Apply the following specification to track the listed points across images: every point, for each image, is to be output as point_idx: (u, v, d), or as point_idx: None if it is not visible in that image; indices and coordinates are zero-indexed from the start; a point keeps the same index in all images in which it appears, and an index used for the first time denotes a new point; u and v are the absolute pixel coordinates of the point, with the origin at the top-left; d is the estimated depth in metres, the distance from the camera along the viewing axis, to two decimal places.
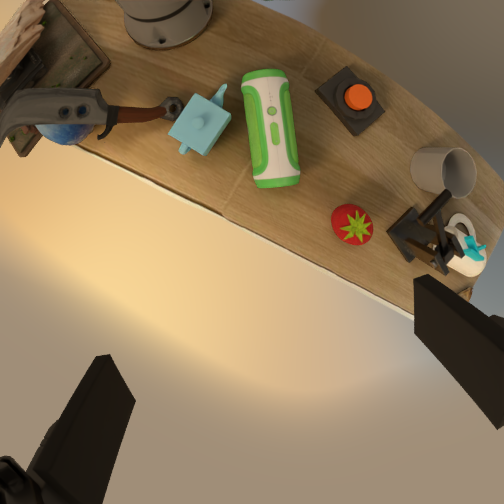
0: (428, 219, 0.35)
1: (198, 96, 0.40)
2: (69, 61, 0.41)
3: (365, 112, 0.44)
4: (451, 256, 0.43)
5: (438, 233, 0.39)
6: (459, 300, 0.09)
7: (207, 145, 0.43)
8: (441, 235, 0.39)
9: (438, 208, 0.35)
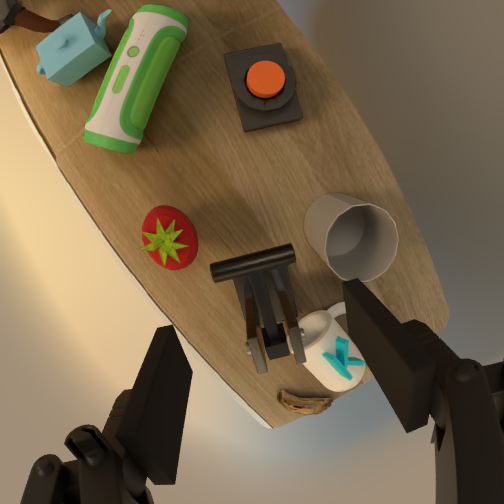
0: (226, 275, 0.22)
1: (80, 16, 0.25)
2: None
3: (266, 103, 0.32)
4: (283, 353, 0.31)
5: (259, 309, 0.27)
6: (377, 304, 0.11)
7: (56, 70, 0.27)
8: (264, 315, 0.27)
9: (254, 267, 0.22)
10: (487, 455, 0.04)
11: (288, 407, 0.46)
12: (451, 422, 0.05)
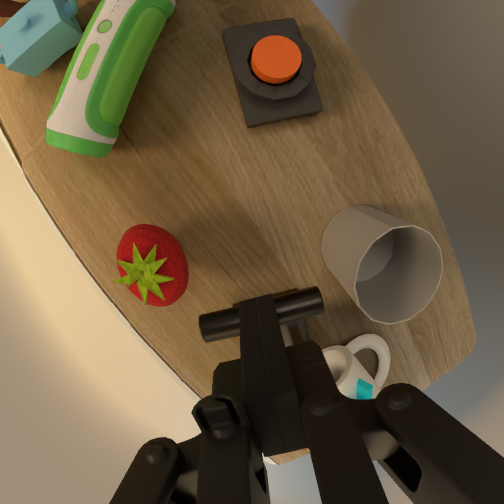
0: (222, 334, 0.15)
1: None
2: None
3: (277, 90, 0.24)
4: None
5: None
6: (274, 322, 0.12)
7: (16, 57, 0.19)
8: None
9: None
10: (357, 490, 0.04)
11: None
12: (312, 459, 0.06)
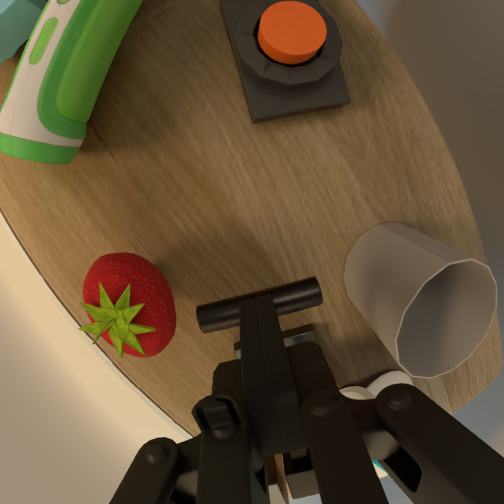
0: (217, 316, 0.15)
1: None
2: None
3: (293, 72, 0.17)
4: (314, 487, 0.15)
5: None
6: (274, 322, 0.12)
7: None
8: None
9: None
10: (357, 490, 0.04)
11: None
12: (312, 459, 0.06)
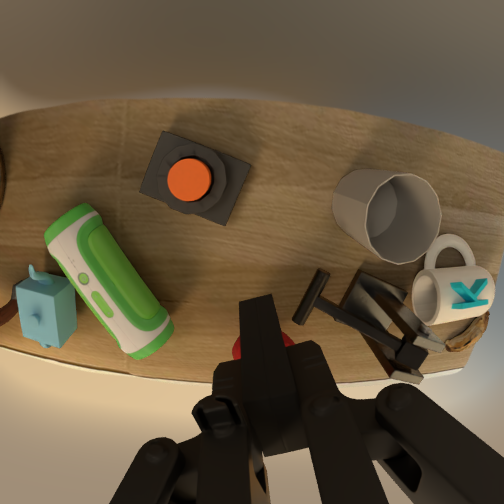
0: (299, 314, 0.31)
1: (19, 289, 0.30)
2: None
3: (213, 193, 0.31)
4: (418, 355, 0.26)
5: None
6: (274, 322, 0.12)
7: (57, 338, 0.32)
8: (360, 329, 0.29)
9: (307, 297, 0.31)
10: (357, 490, 0.04)
11: (461, 349, 0.40)
12: (312, 459, 0.06)
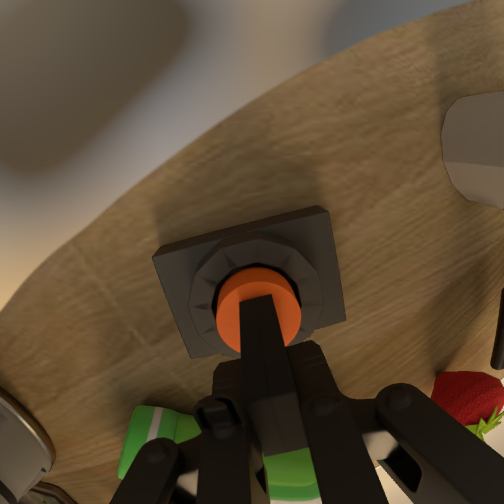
0: (500, 359, 0.15)
1: None
2: None
3: (308, 301, 0.16)
4: None
5: None
6: (274, 322, 0.12)
7: None
8: None
9: None
10: (357, 490, 0.04)
11: None
12: (312, 459, 0.06)
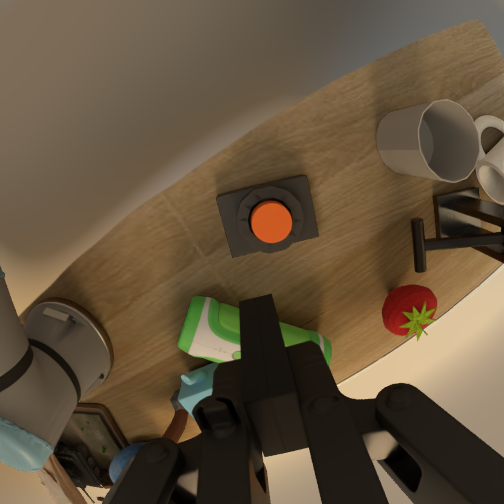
0: (419, 264, 0.32)
1: (183, 400, 0.36)
2: (84, 430, 0.44)
3: (296, 218, 0.33)
4: None
5: (464, 246, 0.29)
6: (274, 322, 0.12)
7: None
8: (469, 245, 0.28)
9: (417, 247, 0.31)
10: (357, 490, 0.04)
11: None
12: (312, 459, 0.06)
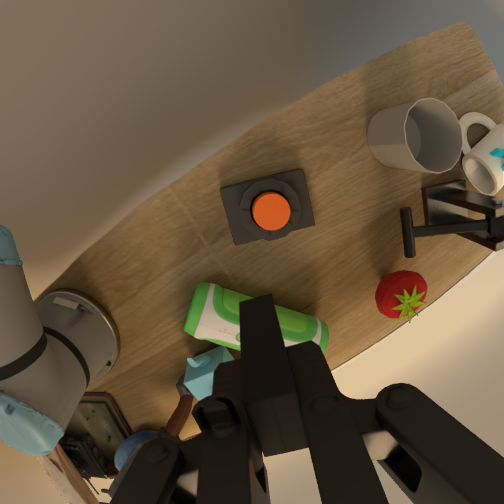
0: (408, 250, 0.35)
1: (188, 382, 0.39)
2: (89, 420, 0.46)
3: (294, 208, 0.36)
4: None
5: None
6: (274, 322, 0.12)
7: None
8: (455, 231, 0.31)
9: (406, 233, 0.34)
10: (357, 490, 0.04)
11: None
12: (312, 459, 0.06)
